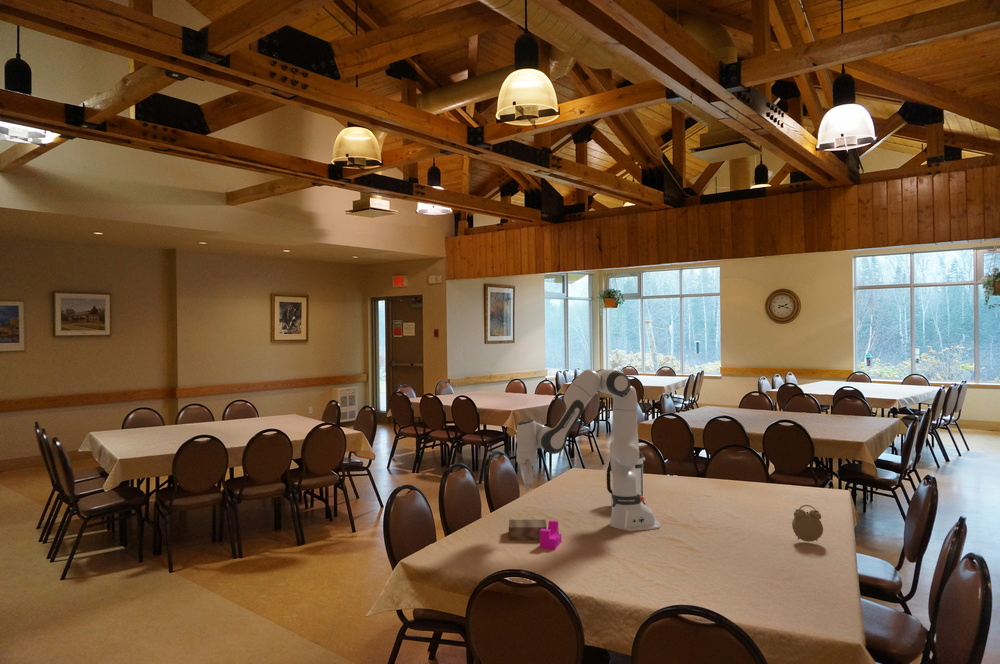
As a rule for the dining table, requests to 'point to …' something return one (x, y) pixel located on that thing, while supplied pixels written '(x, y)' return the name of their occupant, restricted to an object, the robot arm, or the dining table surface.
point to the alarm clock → (807, 524)
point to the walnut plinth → (526, 529)
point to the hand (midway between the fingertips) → (526, 490)
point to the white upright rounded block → (638, 473)
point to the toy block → (550, 536)
